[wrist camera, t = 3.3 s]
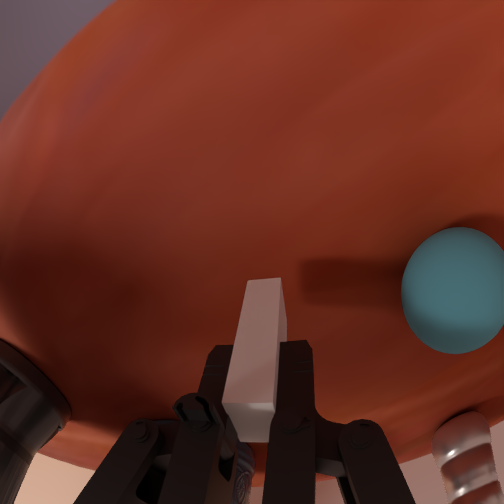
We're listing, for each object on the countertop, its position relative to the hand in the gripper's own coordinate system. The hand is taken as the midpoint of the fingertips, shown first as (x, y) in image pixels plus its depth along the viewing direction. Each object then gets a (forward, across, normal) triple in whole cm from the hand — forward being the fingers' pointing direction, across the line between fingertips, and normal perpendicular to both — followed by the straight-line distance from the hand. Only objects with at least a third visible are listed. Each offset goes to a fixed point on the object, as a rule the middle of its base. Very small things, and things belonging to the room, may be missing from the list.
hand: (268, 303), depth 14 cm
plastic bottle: (+2, +17, -21) cm, 27 cm away
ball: (-1, +9, 0) cm, 9 cm away
